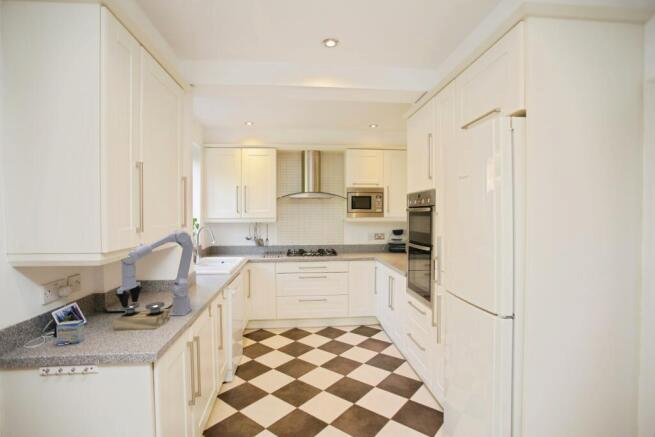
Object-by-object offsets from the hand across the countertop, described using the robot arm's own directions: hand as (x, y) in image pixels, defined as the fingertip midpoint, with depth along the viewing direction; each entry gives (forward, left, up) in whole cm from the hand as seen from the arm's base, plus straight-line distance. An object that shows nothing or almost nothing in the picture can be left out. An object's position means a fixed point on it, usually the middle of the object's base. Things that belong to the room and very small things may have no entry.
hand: (130, 304), depth 147 cm
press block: (0, +6, -10) cm, 11 cm away
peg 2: (0, +12, -5) cm, 13 cm away
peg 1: (0, 0, -5) cm, 5 cm away
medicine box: (+19, -13, -10) cm, 25 cm away
